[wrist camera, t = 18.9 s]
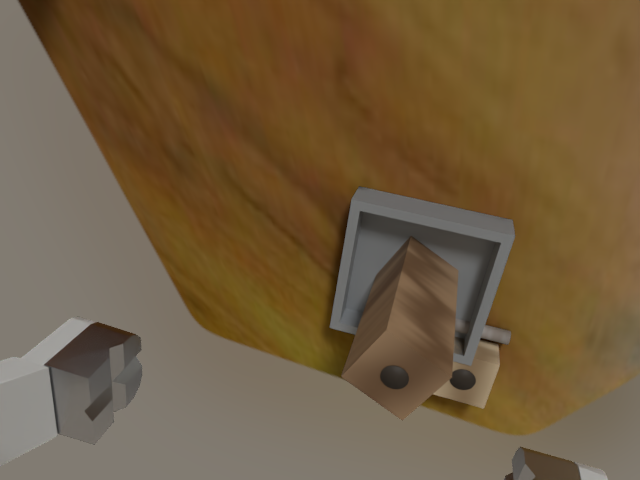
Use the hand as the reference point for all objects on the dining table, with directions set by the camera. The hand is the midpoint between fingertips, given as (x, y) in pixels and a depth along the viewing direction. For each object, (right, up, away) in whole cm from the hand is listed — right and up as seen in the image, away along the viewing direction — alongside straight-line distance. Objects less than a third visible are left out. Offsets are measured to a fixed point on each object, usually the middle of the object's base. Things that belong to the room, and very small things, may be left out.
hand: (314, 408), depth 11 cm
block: (+8, +1, +34) cm, 35 cm away
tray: (+9, +1, +35) cm, 36 cm away
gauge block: (+13, -7, +38) cm, 40 cm away
